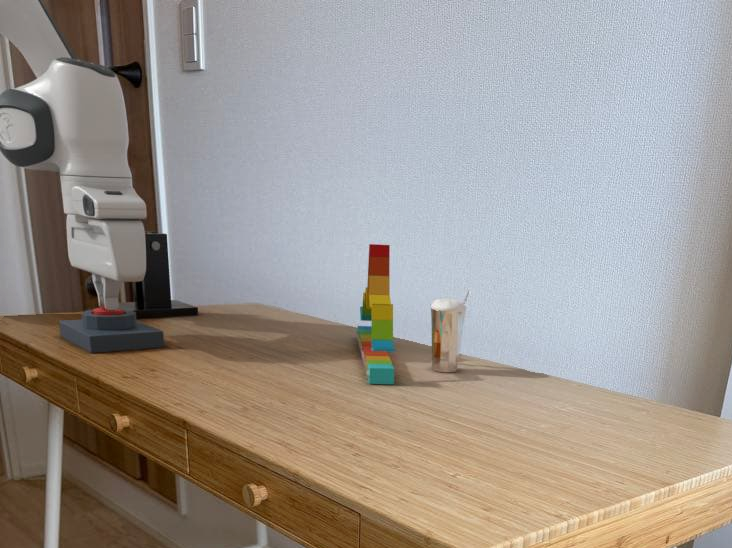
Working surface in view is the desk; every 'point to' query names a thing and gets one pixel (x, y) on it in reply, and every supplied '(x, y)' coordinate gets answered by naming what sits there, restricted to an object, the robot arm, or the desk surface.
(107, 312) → the button
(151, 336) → the button block
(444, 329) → the milkshake
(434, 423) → the desk surface
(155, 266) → the black lever stand
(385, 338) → the chart
